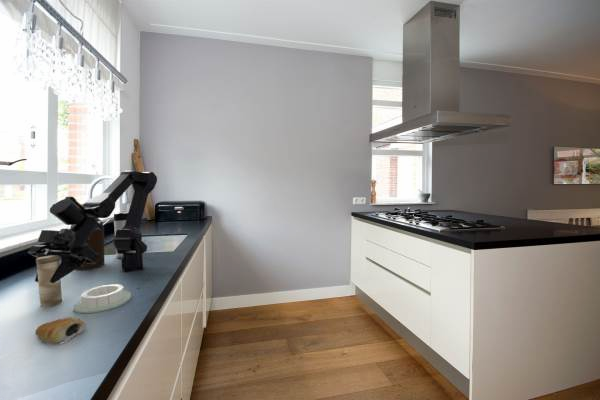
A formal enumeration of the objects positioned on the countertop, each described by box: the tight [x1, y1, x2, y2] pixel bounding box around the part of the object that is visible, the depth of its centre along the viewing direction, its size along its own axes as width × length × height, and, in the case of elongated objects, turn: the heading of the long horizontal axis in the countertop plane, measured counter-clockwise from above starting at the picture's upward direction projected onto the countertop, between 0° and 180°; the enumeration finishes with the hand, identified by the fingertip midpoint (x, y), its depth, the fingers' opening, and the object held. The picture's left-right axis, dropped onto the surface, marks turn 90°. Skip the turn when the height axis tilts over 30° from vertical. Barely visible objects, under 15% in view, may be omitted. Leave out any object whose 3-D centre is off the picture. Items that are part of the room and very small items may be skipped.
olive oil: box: [69, 203, 106, 271], centre depth 110 cm, size 11×11×25 cm
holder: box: [73, 283, 132, 314], centre depth 77 cm, size 13×13×3 cm
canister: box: [35, 255, 63, 308], centre depth 77 cm, size 5×5×13 cm
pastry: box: [35, 317, 87, 345], centre depth 61 cm, size 9×7×4 cm
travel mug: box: [113, 212, 128, 259], centre depth 123 cm, size 6×7×20 cm
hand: (44, 282), depth 75 cm, fingers closed on canister, 4 cm apart
